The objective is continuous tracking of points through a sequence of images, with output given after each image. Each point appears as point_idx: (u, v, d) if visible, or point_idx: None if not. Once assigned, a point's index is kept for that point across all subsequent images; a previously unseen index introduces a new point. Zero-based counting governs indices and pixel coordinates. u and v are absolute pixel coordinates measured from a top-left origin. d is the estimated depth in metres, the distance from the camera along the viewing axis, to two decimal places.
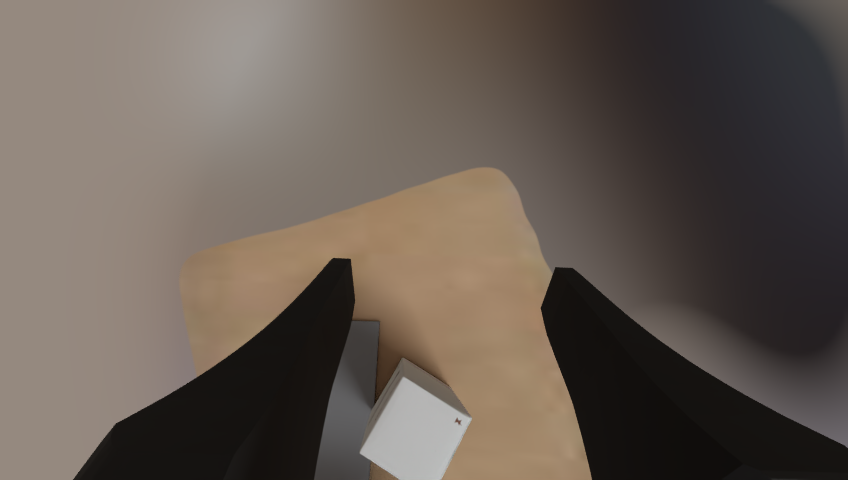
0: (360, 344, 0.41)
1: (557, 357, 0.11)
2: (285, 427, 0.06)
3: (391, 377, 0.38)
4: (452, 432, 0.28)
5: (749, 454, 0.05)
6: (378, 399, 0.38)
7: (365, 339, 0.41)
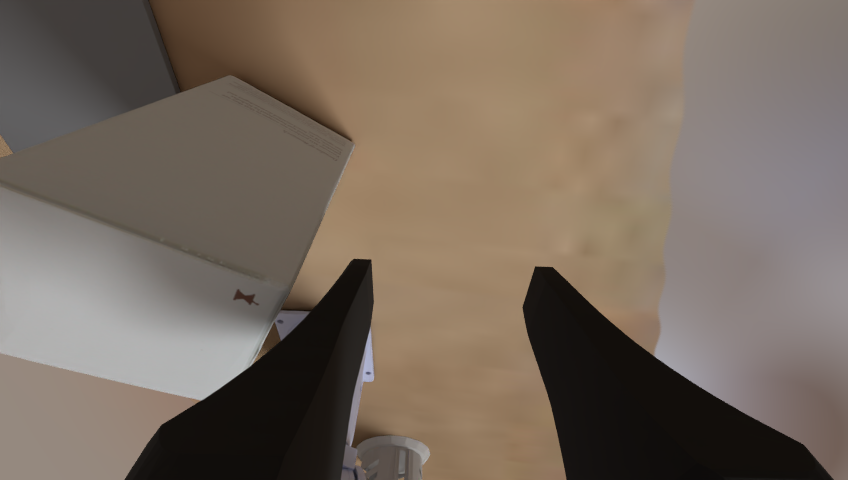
0: (113, 39, 0.16)
1: (536, 356, 0.11)
2: (321, 428, 0.06)
3: None
4: (236, 317, 0.10)
5: (705, 453, 0.05)
6: None
7: (118, 23, 0.16)
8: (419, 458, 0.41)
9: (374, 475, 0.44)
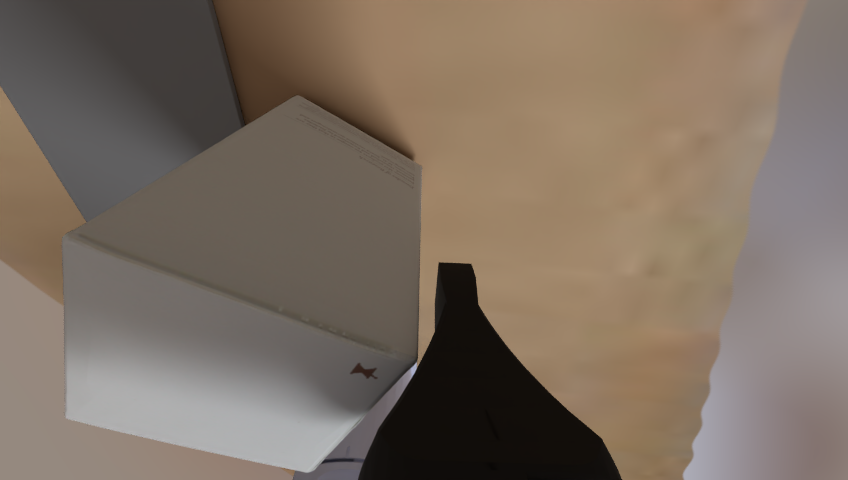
0: (176, 58, 0.15)
1: None
2: None
3: None
4: (347, 391, 0.08)
5: (490, 446, 0.05)
6: None
7: (183, 41, 0.15)
8: None
9: None
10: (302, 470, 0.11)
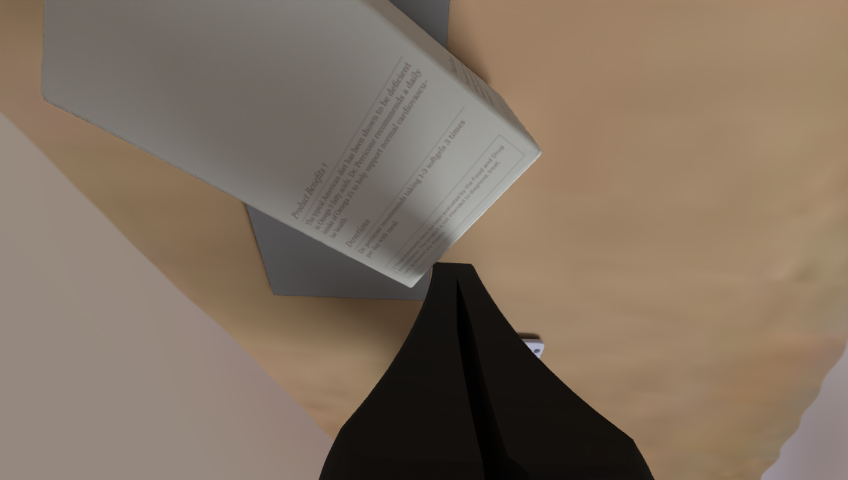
0: None
1: None
2: None
3: None
4: None
5: (522, 447, 0.05)
6: None
7: None
8: None
9: None
10: None
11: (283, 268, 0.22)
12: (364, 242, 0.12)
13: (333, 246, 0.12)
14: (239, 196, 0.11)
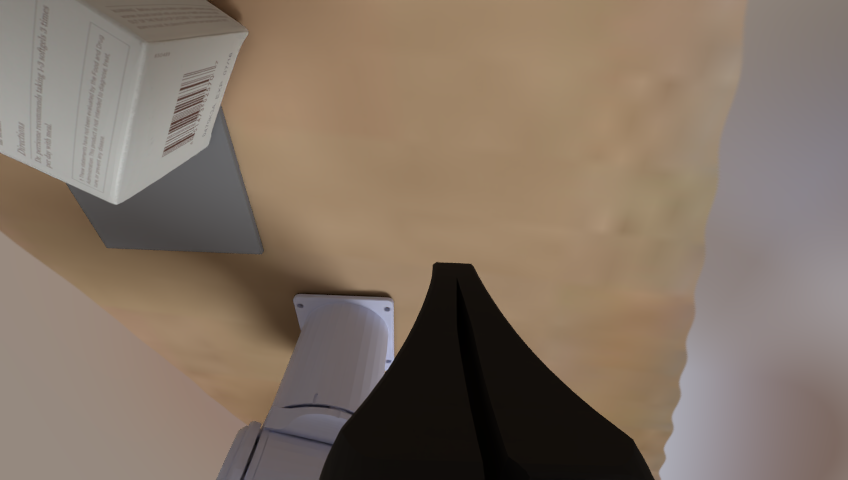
0: None
1: None
2: None
3: None
4: None
5: (523, 448, 0.05)
6: None
7: None
8: None
9: None
10: None
11: (106, 218, 0.22)
12: (34, 149, 0.12)
13: (9, 155, 0.12)
14: None
